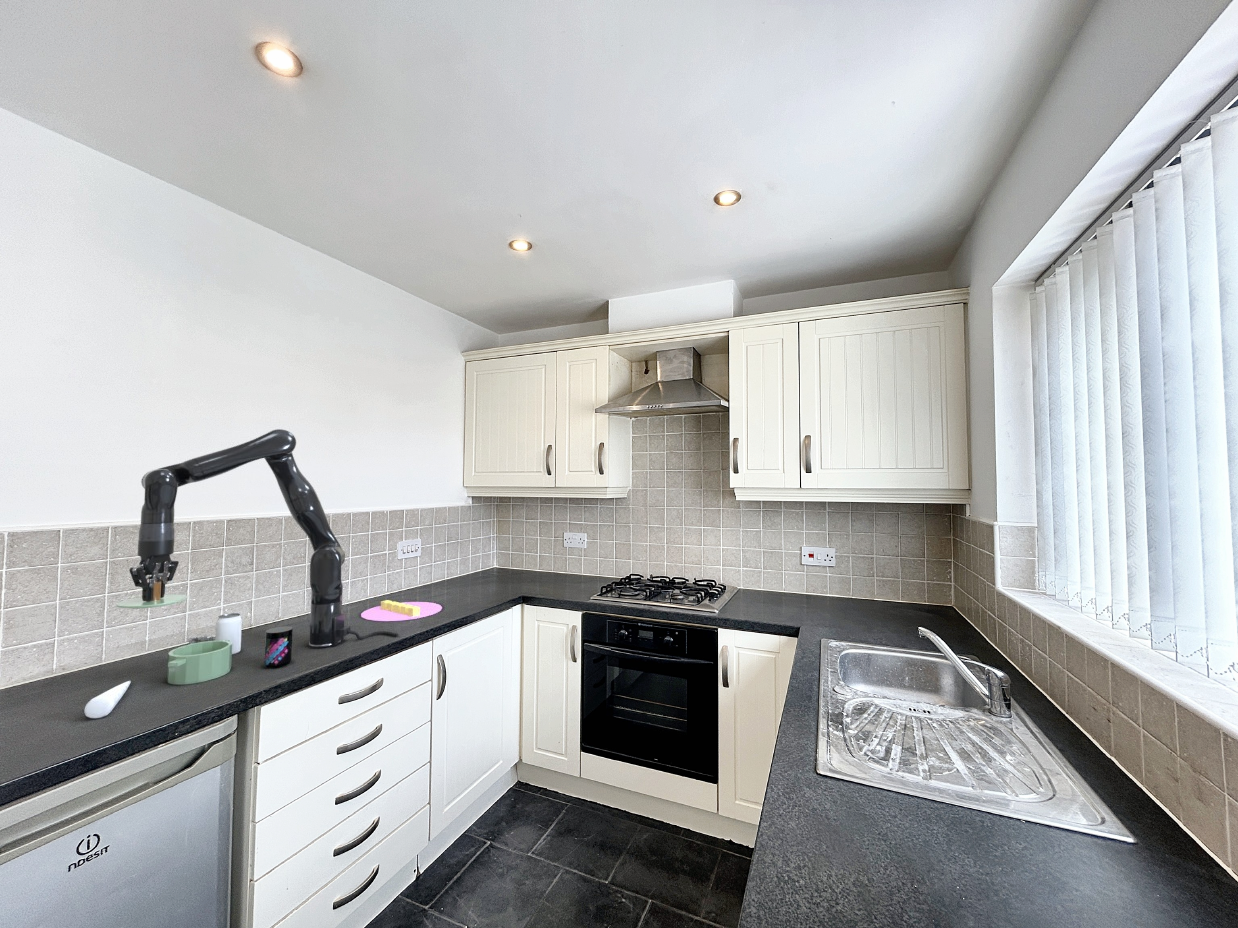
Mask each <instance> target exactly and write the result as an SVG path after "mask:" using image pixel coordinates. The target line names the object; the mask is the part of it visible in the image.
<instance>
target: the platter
mask: <svg viewBox="0 0 1238 928" xmlns="http://www.w3.org/2000/svg"><path fill="white" fill-rule="evenodd" d="M442 609H443V606H442V605H441V604H439V603H435V602H428V601H403V602H402V601H401V602H399V601H393V600H390V599H387V600H382V601H380V605H377V606H374V607H371V608H368V609H365V610H364V611H363V612H361V613H360V617H361V619H364V620H367V621H374V622H402V621H409V620H416V619H421V618H426V617H429V616H433V615H435V614H438V613H439V612H441V611H442Z"/></svg>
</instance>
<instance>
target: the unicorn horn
mask: <svg viewBox="0 0 1238 928" xmlns="http://www.w3.org/2000/svg"><path fill="white" fill-rule="evenodd" d="M130 685H131V680H127V681H125V682H122V683H120V684H118V685H116V686H114V687H112V688H110V689H109V690H106V691H104V692H102V693H100V694H98V695H97V696H95V697H93V698H91V699H90V700H89V701H88V702H87V703H86V704H85V706H84V711H83V713H84V715H85V717H87V718H89V719H101V718H104V717H106V716H107V715H109V714H111V712H112V711H113V709H114V708H115V707H116V706H117V704H118V703H119V701H120V700H121V699H122V697H123V696H124V694H125V693H126V691H127V690H128V688H129V687H130Z"/></svg>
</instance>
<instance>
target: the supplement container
mask: <svg viewBox="0 0 1238 928" xmlns="http://www.w3.org/2000/svg"><path fill="white" fill-rule="evenodd" d="M293 631H294V628H293V626H289V625H288V626H284V625H283V626H275V627H272V628H269V629H268V628H267V629H266V630H265V643H264V666H265V667H266V668H267V669H278V668H282V667H285V666H288V665H289V664H290V663H291V662H292V658H293V657H292V656H293V655H292V653H293V633H294V632H293Z"/></svg>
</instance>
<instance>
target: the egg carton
mask: <svg viewBox="0 0 1238 928" xmlns="http://www.w3.org/2000/svg"><path fill="white" fill-rule="evenodd" d="M206 641H215V635H210V637H208V636H207V635H205V636H197V637H193V638H192V637H188V638H187V642H188V645H189V644H194V643H199V642H206Z"/></svg>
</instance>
